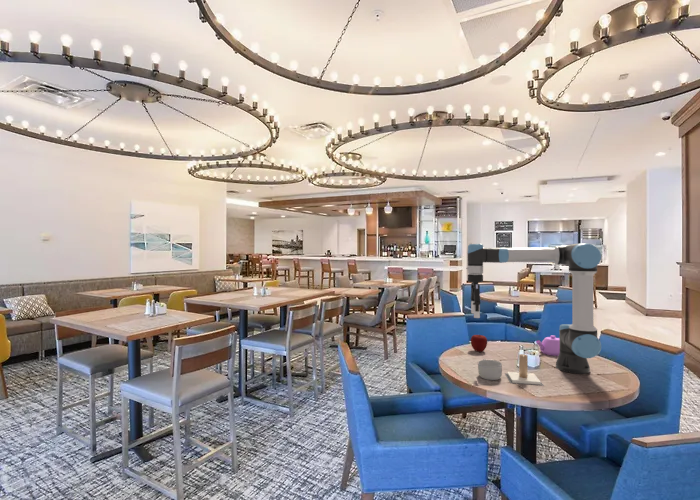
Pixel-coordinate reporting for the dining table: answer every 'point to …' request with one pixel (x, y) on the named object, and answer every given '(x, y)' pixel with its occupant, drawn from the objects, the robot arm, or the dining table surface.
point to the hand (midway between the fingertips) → (475, 315)
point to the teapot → (550, 345)
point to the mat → (520, 383)
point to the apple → (478, 342)
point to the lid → (523, 373)
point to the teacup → (490, 369)
